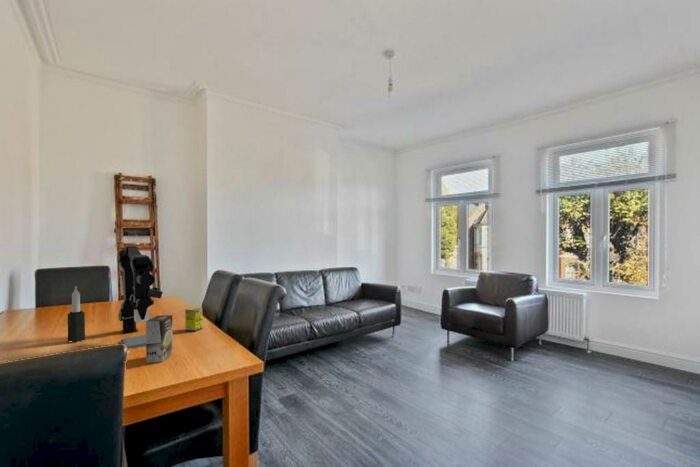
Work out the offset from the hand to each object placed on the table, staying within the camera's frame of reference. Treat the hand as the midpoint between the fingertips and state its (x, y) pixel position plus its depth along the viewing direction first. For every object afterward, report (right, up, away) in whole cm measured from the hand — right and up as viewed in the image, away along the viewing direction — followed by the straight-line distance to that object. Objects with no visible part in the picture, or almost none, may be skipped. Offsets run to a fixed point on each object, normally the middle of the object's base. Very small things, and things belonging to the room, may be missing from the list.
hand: (141, 318), depth 159 cm
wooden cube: (0, -1, 0) cm, 1 cm away
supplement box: (+15, -11, +19) cm, 27 cm away
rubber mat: (0, -11, 0) cm, 11 cm away
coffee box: (+19, -11, -20) cm, 30 cm away
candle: (-31, -11, +2) cm, 33 cm away
